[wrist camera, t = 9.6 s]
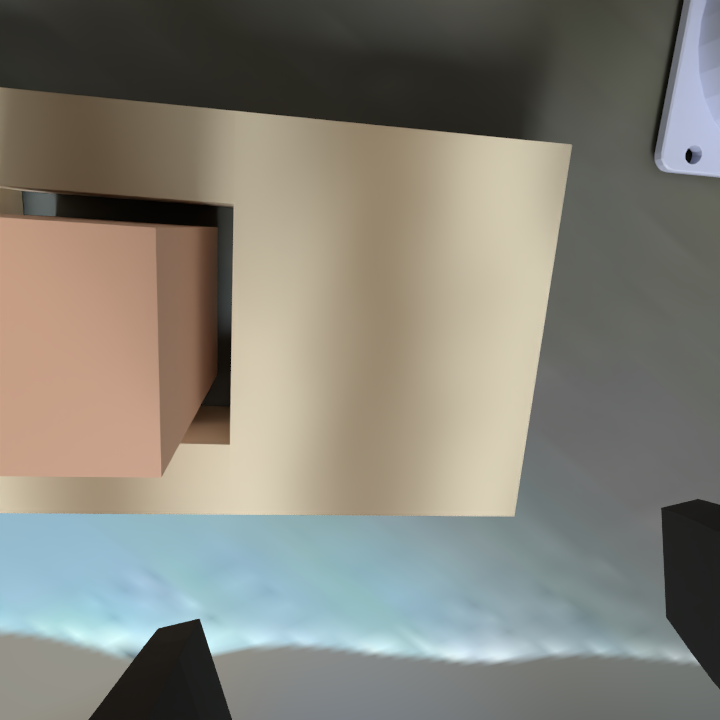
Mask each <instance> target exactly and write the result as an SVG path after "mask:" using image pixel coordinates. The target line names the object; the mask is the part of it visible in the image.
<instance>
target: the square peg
mask: <svg viewBox="0 0 720 720" xmlns="http://www.w3.org/2000/svg"><path fill="white" fill-rule="evenodd" d="M217 342H218V227H206V226H191V225H176V224H161V223H147V222H132V221H117V220H102V219H87V218H72V217H57V216H35V215H12V214H0V476H32V477H142V478H161V477H162V476H163V474H164V472H165V470H166V468H167V466H168V465H169V463H170V461H171V459H172V457H173V455H174V453H175V452H176V450H177V448H178V446H179V444H180V442H181V441H182V439H183V437H184V435H185V433H186V431H187V429H188V428H189V426H190V424H191V422H192V420H193V418H194V417H195V415H196V413H197V411H198V409H199V407H200V405H201V404H202V402H203V400H204V398H205V396H206V394H207V393H208V391H209V389H210V387H211V385H212V383H213V382H214V380H215V378H216V376H217Z"/></svg>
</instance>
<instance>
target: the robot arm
mask: <svg viewBox="0 0 720 720" xmlns="http://www.w3.org/2000/svg"><path fill="white" fill-rule="evenodd" d="M688 148H689V149H690V150H691V152H692V159H691V161H690V163H688V162H687V161H686V159H685V153H686V151H687V149H688ZM655 162H656V165H657V167H658V168H659V169H660V170H661V171H664V172H668V173H679V174H689V175H700V176H710V177H720V0H684V3H683V8H682V13H681V18H680V24H679V29H678V34H677V39H676V45H675V50H674V55H673V60H672V66H671V71H670V76H669V81H668V87H667V92H666V97H665V102H664V108H663V113H662V118H661V123H660V129H659V134H658V139H657V144H656V150H655ZM661 510H662V533H663V555H664V577H665V599H666V617H667V619H668V620H669V622H670V623H671V624H672V626H673V627H674V629H675V630H676V631H677V633H678V634H679V636H680V637H681V639H682V640H683V641H684V643H685V644H686V646H687V647H688V648H689V650H690V651H691V653H692V654H693V655H694V657H695V658H696V659H697V661H698V662H699V663H700V665H701V666H702V667H703V669H704V670H705V671H706V672H707V673H708V675H709V677H710V678H711V679H712V681H713V682H714V683H715V684H716V685H717V686H718V688H719V689H720V505H718V504H715V503H711V502H708V501H704V500H700V499H697V500H692V501H688V502H684V503H680V504H676V505H672V506H667V507H663V508H661ZM89 720H232V718H231V715H230V712H229V709H228V706H227V703H226V699H225V697H224V694H223V690H222V687H221V684H220V681H219V678H218V675H217V672H216V669H215V665H214V662H213V659H212V656H211V653H210V650H209V647H208V644H207V640H206V637H205V634H204V631H203V628H202V625H201V622H200V619H196V620H192V621H188V622H184V623H179V624H175V625H171V626H167V627H163V628H159V629H158V630H157V631H156V632H155V633H154V634H153V636H152V637H151V638H150V639H149V641H148V642H147V643H146V645H145V646H144V647H143V648H142V650H141V651H140V652H139V654H138V655H137V656H136V658H135V659H134V660H133V662H132V663H131V664H130V666H129V667H128V668H127V670H126V671H125V672H124V674H123V675H122V676H121V678H120V679H119V680H118V682H117V683H116V684H115V686H114V687H113V688H112V690H111V691H110V692H109V693H108V695H107V696H106V697H105V699H104V700H103V702H102V703H101V704H100V705H99V707H98V708H97V709H96V711H95V712H94V713H93V715H92V716H91V717H90V718H89Z"/></svg>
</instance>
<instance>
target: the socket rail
mask: <svg viewBox="0 0 720 720" xmlns="http://www.w3.org/2000/svg"><path fill="white" fill-rule="evenodd" d="M571 148H572V145H570V144H560V143H550V142H540V141H530V140H520V139H510V138H500V137H490V136H480V135H470V134H460V133H450V132H440V131H430V130H420V129H410V128H400V127H390V126H380V125H370V124H361V123H351V122H341V121H331V120H321V119H311V118H301V117H291V116H281V115H271V114H261V113H251V112H241V111H231V110H221V109H211V108H201V107H191V106H181V105H171V104H161V103H151V102H141V101H131V100H121V99H111V98H101V97H92V96H82V95H72V94H62V93H52V92H42V91H32V90H22V89H12V88H2V87H0V214H12V215H23V201H22V191H30V192H43V193H56V194H69V195H81V196H94V197H107V198H120V199H133V200H146V201H158V202H171V203H184V204H197V205H210V206H223V207H234V216H233V279H232V342H231V405H230V407H229V406H200V407H199V409H198V411H197V413H196V415H195V417H194V418H193V420H192V422H191V424H190V426H189V428H188V429H187V431H186V433H185V435H184V437H183V439H182V441H181V442H180V444H179V446H178V448H177V450H176V452H175V453H174V455H173V457H172V459H171V461H170V463H169V465H168V466H167V468H166V470H165V472H164V474H163V476H162V477H161V478H142V477H32V476H0V513H82V514H236V515H390V516H514V515H515V508H516V502H517V495H518V489H519V483H520V476H521V470H522V463H523V457H524V450H525V444H526V438H527V431H528V425H529V418H530V412H531V405H532V399H533V393H534V386H535V380H536V373H537V367H538V360H539V354H540V348H541V341H542V335H543V328H544V322H545V315H546V309H547V303H548V296H549V290H550V283H551V277H552V270H553V264H554V258H555V251H556V245H557V238H558V232H559V225H560V219H561V213H562V206H563V200H564V193H565V187H566V180H567V174H568V168H569V161H570V155H571Z"/></svg>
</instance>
